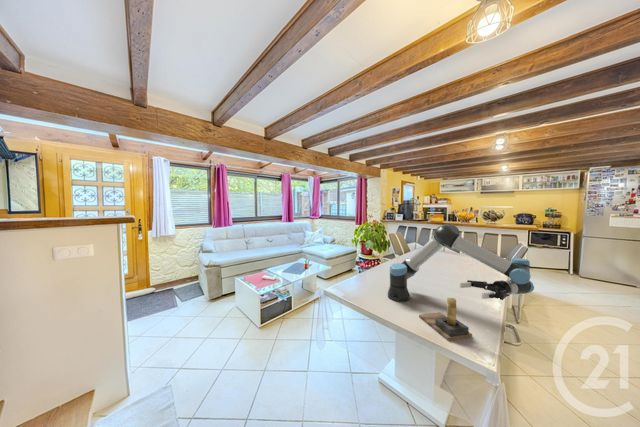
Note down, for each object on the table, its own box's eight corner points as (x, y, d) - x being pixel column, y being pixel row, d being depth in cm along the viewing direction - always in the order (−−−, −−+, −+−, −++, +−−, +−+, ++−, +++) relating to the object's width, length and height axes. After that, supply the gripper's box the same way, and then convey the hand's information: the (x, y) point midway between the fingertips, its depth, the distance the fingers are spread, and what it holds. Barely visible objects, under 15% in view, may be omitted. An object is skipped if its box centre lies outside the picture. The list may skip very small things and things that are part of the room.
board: (419, 317, 124) (419, 309, 124) (440, 314, 126) (440, 306, 126) (447, 340, 102) (447, 330, 102) (472, 337, 105) (472, 327, 105)
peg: (445, 327, 111) (445, 298, 110) (451, 326, 111) (451, 297, 111) (451, 332, 107) (451, 301, 106) (457, 331, 107) (458, 300, 107)
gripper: (530, 305, 103) (493, 308, 100) (483, 285, 128) (452, 287, 125) (530, 290, 103) (493, 293, 100) (483, 273, 127) (452, 275, 124)
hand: (470, 290), depth 112 cm, fingers open, 13 cm apart
